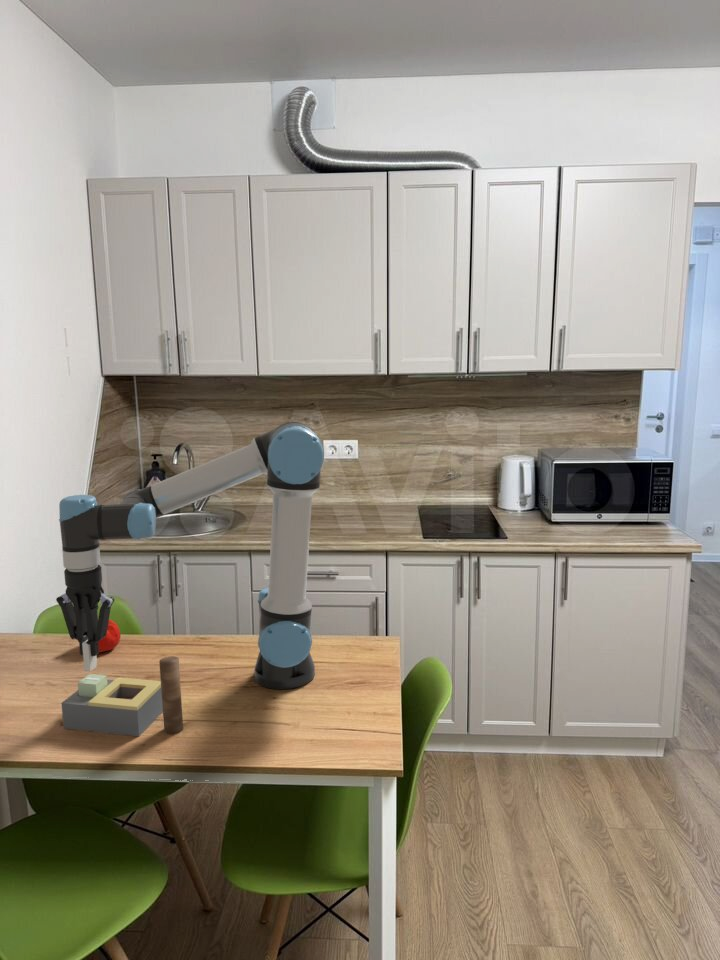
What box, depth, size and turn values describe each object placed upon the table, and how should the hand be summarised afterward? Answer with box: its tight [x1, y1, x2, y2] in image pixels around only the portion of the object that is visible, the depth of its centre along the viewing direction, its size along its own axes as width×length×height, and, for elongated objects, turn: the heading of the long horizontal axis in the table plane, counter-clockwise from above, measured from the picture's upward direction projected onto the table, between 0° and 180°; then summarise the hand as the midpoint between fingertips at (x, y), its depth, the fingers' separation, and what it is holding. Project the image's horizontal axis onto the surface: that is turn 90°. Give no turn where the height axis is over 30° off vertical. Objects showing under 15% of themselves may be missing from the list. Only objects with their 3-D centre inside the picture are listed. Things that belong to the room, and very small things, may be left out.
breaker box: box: [61, 676, 163, 737], centre depth 158 cm, size 18×12×7 cm, turn 78°
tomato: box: [98, 619, 121, 654], centre depth 196 cm, size 11×11×8 cm
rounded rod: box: [158, 655, 184, 735], centre depth 153 cm, size 4×4×16 cm
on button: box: [77, 673, 108, 698], centre depth 159 cm, size 4×4×4 cm
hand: (90, 668), depth 158 cm, fingers closed
